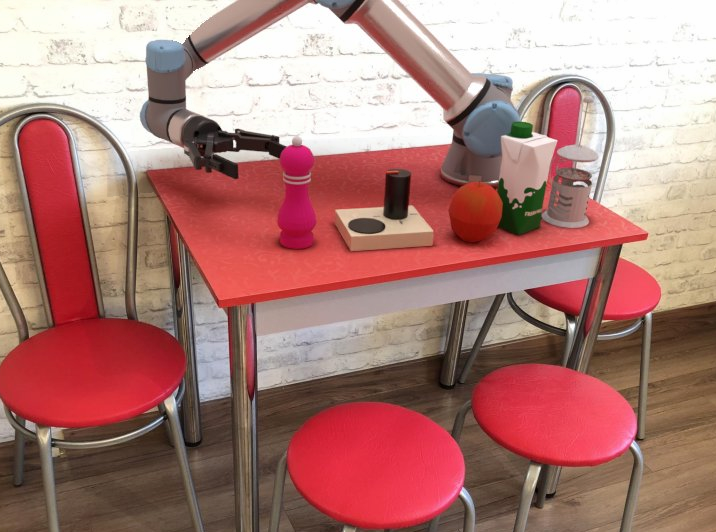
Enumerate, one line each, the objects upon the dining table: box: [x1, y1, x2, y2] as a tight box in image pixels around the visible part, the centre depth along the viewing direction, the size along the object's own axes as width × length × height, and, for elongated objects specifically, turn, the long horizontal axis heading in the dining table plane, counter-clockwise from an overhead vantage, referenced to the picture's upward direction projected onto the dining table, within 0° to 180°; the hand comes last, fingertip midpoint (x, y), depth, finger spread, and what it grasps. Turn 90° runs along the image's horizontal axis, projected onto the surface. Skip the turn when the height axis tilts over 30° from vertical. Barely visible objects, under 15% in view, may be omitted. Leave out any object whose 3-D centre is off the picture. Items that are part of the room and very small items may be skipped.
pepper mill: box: [276, 136, 317, 250], centre depth 144 cm, size 7×7×20 cm
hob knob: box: [383, 168, 412, 220], centre depth 152 cm, size 5×5×9 cm
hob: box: [334, 204, 435, 252], centre depth 153 cm, size 16×13×3 cm
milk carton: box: [496, 121, 558, 236], centre depth 155 cm, size 9×9×20 cm
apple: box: [448, 181, 503, 243], centre depth 151 cm, size 10×10×12 cm
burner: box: [348, 218, 385, 234], centre depth 149 cm, size 7×7×1 cm
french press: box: [541, 95, 600, 229], centre depth 159 cm, size 10×12×25 cm
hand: (265, 164), depth 148 cm, fingers open, 13 cm apart
